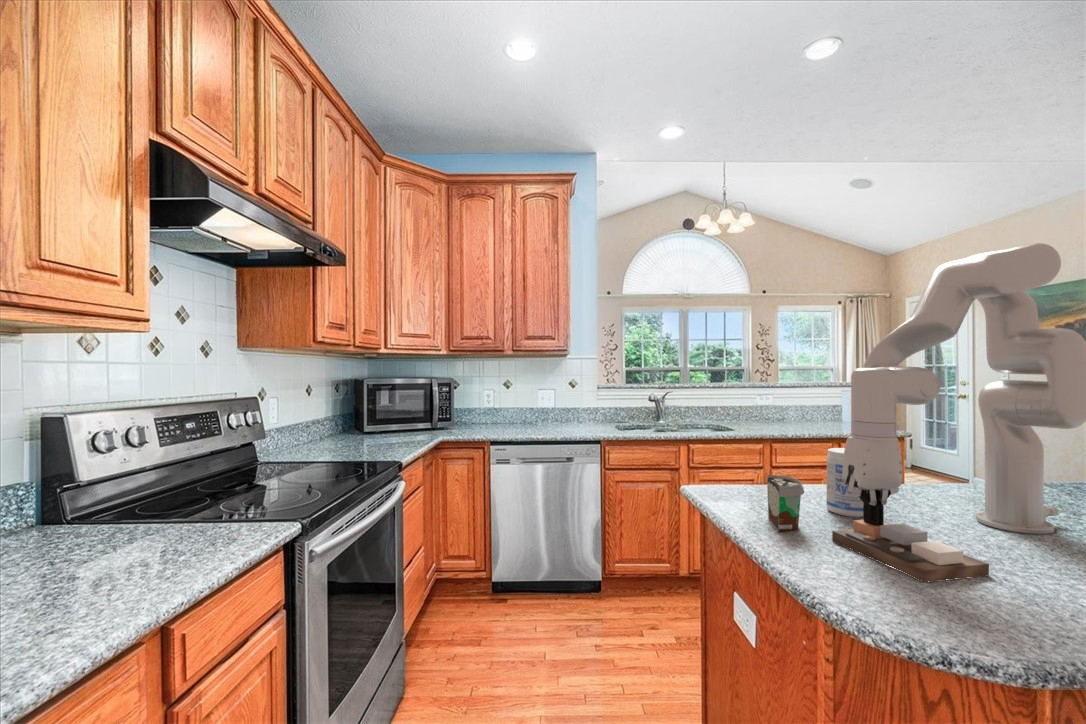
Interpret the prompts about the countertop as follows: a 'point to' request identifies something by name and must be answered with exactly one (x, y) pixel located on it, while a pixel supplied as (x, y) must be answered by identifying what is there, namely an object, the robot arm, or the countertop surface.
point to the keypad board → (908, 557)
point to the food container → (784, 502)
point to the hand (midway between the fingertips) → (873, 523)
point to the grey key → (903, 533)
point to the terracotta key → (867, 528)
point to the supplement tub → (840, 487)
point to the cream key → (937, 552)
